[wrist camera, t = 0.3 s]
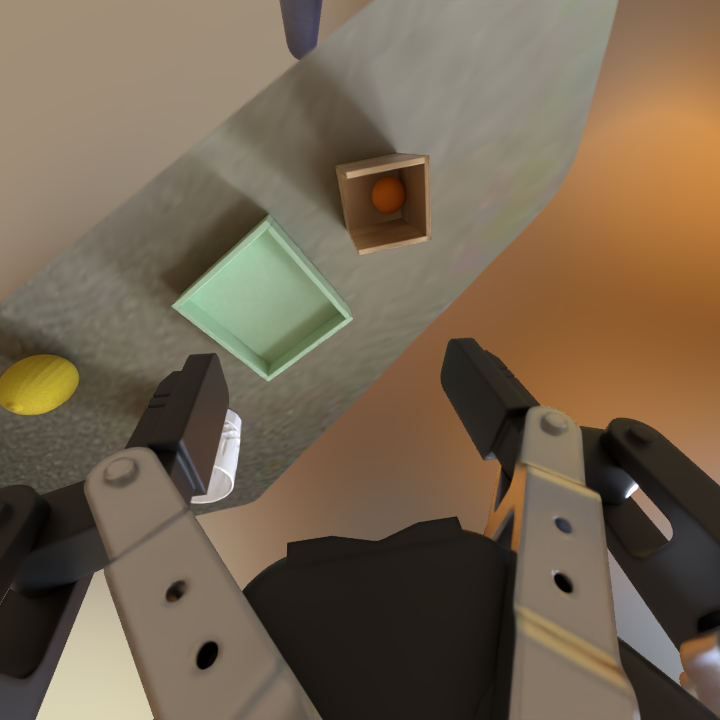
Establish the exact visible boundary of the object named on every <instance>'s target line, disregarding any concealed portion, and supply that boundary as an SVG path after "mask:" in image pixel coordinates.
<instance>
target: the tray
mask: <svg viewBox="0 0 720 720" xmlns="http://www.w3.org/2000/svg"><path fill="white" fill-rule="evenodd" d="M171 307H173V308H174V309H175V310H177V311H178V312H179V313H180V314H182V315H183V316H184V317H185V318H187V319H188V320H189V321H191V322H192V323H193V324H194V325H196V326H197V327H198V328H200V329H201V330H202V331H204V332H205V333H206V334H207V335H209V336H210V337H211V338H213V339H214V340H215V341H216V342H218V343H219V344H220V345H222V346H223V347H224V348H225V349H227V350H228V351H229V352H231V353H232V354H233V355H234V356H236V357H237V358H238V359H240V360H241V361H242V362H243V363H245V364H246V365H247V366H249V367H250V368H251V369H253V370H254V371H255V372H256V373H258V374H259V375H260V376H262V377H263V378H264V379H265V380H267V381H270V380H271V379H272V378H274V377H275V376H277V375H278V374H279V373H281V372H282V371H283V370H285V369H286V368H287V367H289V366H290V365H292V364H293V363H294V362H296V361H297V360H298V359H300V358H301V357H302V356H304V355H305V354H306V353H308V352H309V351H311V350H312V349H313V348H315V347H316V346H317V345H319V344H320V343H321V342H323V341H324V340H326V339H327V338H328V337H330V336H331V335H332V334H334V333H335V332H336V331H338V330H339V329H341V328H342V327H343V326H345V325H346V324H347V323H349V322H350V321H351V320H353V318H352V315H351V311H350V308H349V307H348V305H347V304H346V303H345V302H344V301H343V300H342V298H341V297H340V296H339V295H338V294H337V293H336V291H335V290H334V289H333V288H332V287H331V286H330V284H329V283H328V282H327V281H326V280H325V279H324V277H323V276H322V275H321V274H320V273H319V272H318V270H317V269H316V268H315V267H314V266H313V264H312V263H311V262H310V261H309V260H308V259H307V257H306V256H305V255H304V254H303V253H302V252H301V250H300V249H299V248H298V247H297V246H296V245H295V243H294V242H293V241H292V240H291V239H290V238H289V236H288V235H287V234H286V233H285V232H284V231H283V229H282V228H281V227H280V226H279V225H278V224H277V222H276V221H275V220H274V219H273V218H272V217H271V215H270V214H268V215H267V216H266V217H265V218H264V219H263V220H262V221H260V222H259V223H258V224H257V225H256V226H255V227H254V228H253V229H252V230H251V231H249V232H248V233H247V234H246V235H245V236H244V237H243V238H242V239H241V240H240V241H239V242H237V243H236V244H235V245H234V246H233V247H232V248H231V249H230V250H229V251H228V252H226V253H225V254H224V255H223V256H222V257H221V258H220V259H219V260H218V261H217V262H216V263H214V264H213V265H212V266H211V267H210V268H209V269H208V270H207V271H206V272H205V273H204V274H202V275H201V276H200V277H199V278H198V279H197V280H196V281H195V282H194V283H193V284H191V285H190V286H189V287H188V288H187V289H186V290H185V291H184V292H183V293H182V294H181V295H180V296H179V297H178V298H177V299H176V301H175V302H174V303H173V304H172V305H171Z"/></svg>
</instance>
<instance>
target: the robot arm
mask: <svg viewBox="0 0 720 720" xmlns="http://www.w3.org/2000/svg"><path fill="white" fill-rule="evenodd" d="M441 384H442V387H443V389H444V391H445V393H446V394H447V397H448V398H449V400H450V402H451V404H452V405H453V407H454V409H455V411H456V412H457V414H458V416H459V418H460V420H461V421H462V423H463V425H464V427H465V428H466V430H467V432H468V434H469V435H470V437H471V439H472V441H473V443H474V444H475V446H476V448H477V450H478V451H479V453H480V455H481V457H482V459H483V460H491V459H498V460H499V462H500V464H501V465H500V467H499V469H498V472H497V478H496V483H495V488H494V494H493V499H492V504H491V510H490V514H489V519H488V523H487V526H486V528H485V531H484V534H483V535H481V534H479V533H476V532H472V531H469V530H464V529H462V527H461V525H460V523H459V520H458V518H457V517H450V518H443V519H438V520H431V521H425V522H418V523H416V524H414V525H412V526H410V527H407V528H405V529H404V530H401V531H399V532H397V533H395V534H393V535H391V536H389V537H387V538H385V539H382V540H380V541H369V540H361V539H353V538H345V537H337V536H328V537H322V538H315V539H309V540H303V541H296V542H290V543H287V557H284V558H282V559H281V560H279V561H277V562H275V563H274V564H272V565H270V566H269V567H267V568H266V569H265V570H263V571H262V572H261V573H259V574H258V575H257V576H256V577H255V578H254V579H253V580H252V581H251V582H250V583H249V584H248V585H247V586H246V587H245V588H244V590H243V591H241V589H240V588H239V586H238V585H237V583H236V581H235V580H234V578H233V577H232V575H231V573H230V572H229V570H228V569H227V567H226V565H225V564H224V562H223V561H222V559H221V557H220V556H219V554H218V552H217V551H216V549H215V548H214V546H213V545H212V543H211V541H210V540H209V538H208V537H207V535H206V533H205V532H204V530H203V528H202V527H201V525H200V524H199V522H198V521H197V519H196V517H195V516H194V514H193V512H192V511H191V509H190V508H189V507H190V503H191V499H192V497H194V496H202V495H207V491H208V487H209V483H210V479H211V475H212V471H213V467H214V463H215V459H216V455H217V451H218V446H219V442H220V438H221V434H222V430H223V426H224V422H225V418H226V414H227V410H228V405H229V393H228V388H227V384H226V381H225V378H224V374H223V371H222V368H221V364H220V361H219V358H218V356H217V354H216V353H210V354H194V355H189V357H188V358H187V361H186V363H185V365H184V367H183V369H182V371H173V372H172V373H171V374H170V375H169V376H167V377H166V378H165V379H164V380H163V381H162V382H161V383H160V384H159V386H158V388H157V390H156V391H155V393H154V395H153V396H154V398H152V399H151V401H150V403H149V404H148V409H146V410H145V412H144V414H143V416H142V418H141V419H140V421H139V423H138V425H137V427H136V429H135V431H134V432H133V434H132V436H131V438H130V440H129V442H128V444H127V445H126V447H125V449H124V450H121V451H118V452H116V453H114V454H112V455H110V456H109V457H107V458H105V459H104V460H103V461H101V462H100V463H99V464H98V465H96V467H95V468H94V469H93V470H92V471H91V472H90V473H89V475H88V477H87V478H86V480H83V481H81V482H78V483H75V484H72V485H69V486H66V487H64V488H61V489H58V490H55V491H52V492H49V493H46V494H43V495H40V494H39V493H38V492H36V491H35V490H34V489H33V488H32V487H30V486H26V485H13V486H8V487H4V488H1V489H0V603H1V604H0V720H35V719H36V717H37V714H38V712H39V709H40V707H41V704H42V702H43V699H44V697H45V694H46V692H47V689H48V687H49V684H50V682H51V679H52V677H53V674H54V672H55V669H56V667H57V664H58V662H59V659H60V657H61V654H62V652H63V649H64V647H65V644H66V642H67V639H68V637H69V634H70V632H71V629H72V627H73V624H74V622H75V619H76V616H77V614H78V612H79V609H80V607H81V604H82V602H83V599H84V597H85V594H86V592H87V589H88V587H89V584H90V582H91V579H92V577H93V574H94V572H97V571H99V570H101V569H103V568H104V574H105V578H106V582H107V584H108V587H109V590H110V593H111V596H112V599H113V602H114V604H115V607H116V610H117V613H118V616H119V619H120V622H121V625H122V628H123V630H124V633H125V636H126V639H127V641H128V644H129V648H130V651H131V653H132V656H133V659H134V662H135V665H136V668H137V670H138V674H139V676H140V679H141V682H142V685H143V688H144V691H145V694H146V697H147V699H148V702H149V705H150V708H151V711H152V714H153V716H154V719H153V720H720V486H719V485H718V484H717V483H716V482H715V481H714V480H712V479H711V478H710V477H709V476H708V475H707V474H706V473H705V472H703V471H702V470H701V469H700V468H699V467H698V466H697V465H696V464H694V463H693V462H692V461H691V460H690V459H689V458H688V457H687V456H685V455H684V454H683V453H682V452H681V451H680V450H679V449H678V448H677V447H675V446H674V445H673V444H672V443H671V442H670V441H669V440H667V439H666V438H665V437H664V436H663V435H662V434H661V433H659V432H658V431H657V430H655V429H654V428H652V427H650V426H648V425H646V424H644V423H642V422H640V421H637V420H634V419H629V418H616V419H613V420H612V421H611V422H610V423H609V425H608V426H607V427H606V429H605V430H603V429H597V428H591V427H584V426H579V425H578V424H577V422H576V421H575V420H574V419H572V418H571V417H570V416H569V415H567V414H566V413H564V412H562V411H560V410H558V409H555V408H552V407H548V406H541V405H540V404H539V403H538V402H537V401H536V400H535V398H534V397H533V396H532V395H531V394H530V393H529V392H528V390H527V389H525V387H524V386H523V385H522V384H521V383H520V381H519V380H518V379H517V378H515V377H514V375H513V374H512V372H511V371H510V370H508V369H507V367H506V366H505V364H504V363H503V362H502V361H501V360H500V359H499V358H498V357H496V356H495V355H493V354H491V353H490V352H488V351H487V350H483V349H482V348H481V347H480V346H479V344H478V343H477V342H476V341H475V340H474V339H473V338H459V339H451V340H450V341H449V342H448V345H447V349H446V353H445V358H444V362H443V366H442V370H441ZM638 487H640V488H641V489H642V491H643V492H644V493H645V494H646V495H647V496H648V497H649V498H650V499H651V501H652V502H653V503H654V504H655V505H656V506H657V507H658V508H659V510H660V511H661V512H662V513H663V514H664V515H665V516H666V518H667V519H668V520H669V522H670V523H671V526H672V529H673V537H672V539H671V540H670V541H668V540H667V539H666V538H665V536H664V535H663V534H662V533H661V532H660V530H659V529H658V528H657V527H656V526H655V524H653V522H652V521H651V520H650V519H649V517H648V516H647V515H646V514H645V513H644V512H643V510H642V509H641V508H640V507H639V506H638V505H637V503H636V502H635V501H634V500H633V499H632V497H631V496H630V495H631V494H632V493H633V492H634V491H635V490H636V489H637V488H638ZM607 548H608V549H609V551H610V552H611V554H612V555H613V556H614V558H615V560H616V561H617V562H618V564H619V565H620V567H621V568H622V570H623V571H624V573H625V574H626V575H627V577H628V578H629V580H630V581H631V583H632V584H633V586H634V587H635V589H636V590H637V591H638V593H639V594H640V596H641V597H642V599H643V600H644V602H645V603H646V605H647V606H648V607H649V609H650V610H651V612H652V613H653V615H654V616H655V618H656V619H657V621H658V622H659V623H660V625H661V626H662V628H663V629H664V631H665V632H666V634H667V635H668V637H669V638H670V640H671V641H672V642H673V644H674V645H675V647H676V648H677V650H678V651H679V653H680V658H681V663H682V666H683V669H684V672H682V673H681V674H680V678H679V680H680V684H681V686H680V685H678V684H677V683H676V682H675V681H674V680H672V679H671V678H670V677H668V676H667V675H666V674H665V673H663V672H662V671H661V670H660V669H658V668H657V667H656V666H655V665H653V664H652V663H651V662H650V661H648V660H647V659H646V658H645V657H643V656H642V655H641V654H640V653H638V652H637V651H636V650H635V649H633V648H632V647H631V646H629V645H628V644H627V643H626V642H624V641H623V640H622V639H621V638H619V637H618V636H617V630H616V622H615V613H614V604H613V596H612V586H611V579H610V569H609V561H608V552H607ZM8 589H9V590H8ZM7 591H8V592H7ZM5 594H6V595H5ZM4 596H5V597H4ZM3 598H4V599H3ZM1 601H2V602H1Z"/></svg>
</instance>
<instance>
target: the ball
mask: <svg viewBox="0 0 720 720" xmlns="http://www.w3.org/2000/svg"><path fill="white" fill-rule="evenodd" d="M372 199H373V203H374V205H375V207H376V208H377V209H378V210H379V211H380V212H382V213H385V214H391V213H394V212H396V211H397V210H399V209H400V208H401V206H402V205H403V203H404V200H405V189H404V186H403V184H402V183H401V181H400V180H398V179H397V178H395V177H391V176H388V177H384V178H382V179H380V180H379V181H378V182H377V183H376V185H375V186H374V189H373V192H372Z"/></svg>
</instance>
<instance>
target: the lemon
mask: <svg viewBox="0 0 720 720" xmlns="http://www.w3.org/2000/svg"><path fill="white" fill-rule="evenodd" d="M78 382H79V374H78V371H77V369H76V367H75V366H74V365H73V364H72V363H71V362H70V361H68V360H67V359H65V358H63V357H59V356H56V355H49V354H41V355H35V356H31V357H27V358H25V359H23V360H21V361H19V362H17V363H15V364H14V365H12V366H11V367H10V368H8V370H7V371H6V372H5V373H4V374H3V375H2V376H1V378H0V404H1V405H2V406H3V407H4V408H5V409H7V410H9V411H11V412H14V413H17V414H22V415H36V414H42V413H45V412H48V411H50V410H53V409H55V408H56V407H58V406H59V405H61V404H62V403H64V402H65V401H66V400H68V399H69V398H70V397H71V395H72V394H73V393H74V391H75V390H76V388H77V386H78Z"/></svg>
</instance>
